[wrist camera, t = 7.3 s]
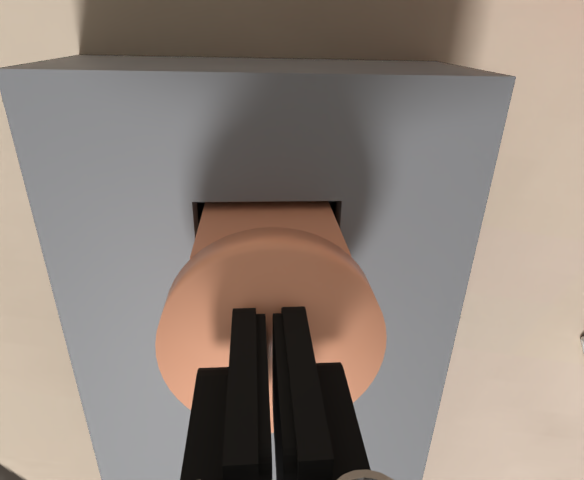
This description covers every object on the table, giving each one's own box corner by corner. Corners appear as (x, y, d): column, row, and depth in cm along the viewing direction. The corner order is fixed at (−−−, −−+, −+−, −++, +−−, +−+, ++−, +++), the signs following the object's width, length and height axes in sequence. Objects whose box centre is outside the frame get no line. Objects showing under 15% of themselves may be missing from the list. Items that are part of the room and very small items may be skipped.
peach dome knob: (346, 166, 15) (400, 248, 10) (336, 301, 18) (374, 427, 12) (183, 166, 15) (140, 252, 9) (195, 304, 17) (168, 438, 12)
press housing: (436, 61, 18) (516, 76, 12) (368, 500, 30) (393, 603, 25) (78, 54, 17) (-6, 68, 11) (160, 513, 29) (139, 624, 23)
